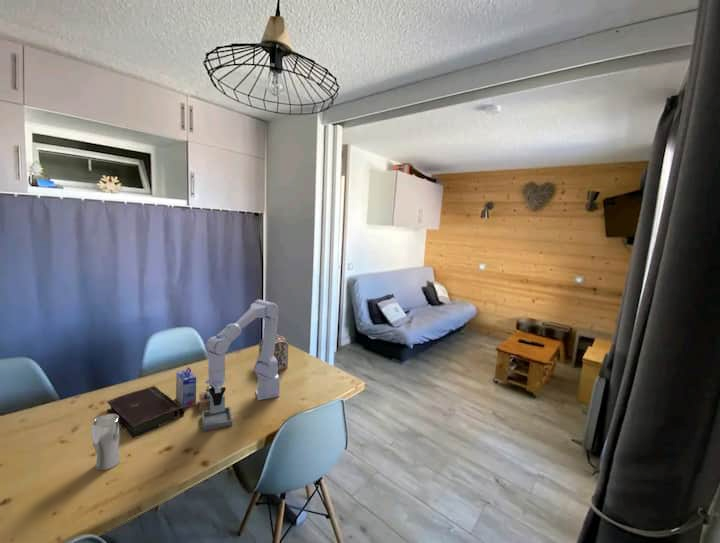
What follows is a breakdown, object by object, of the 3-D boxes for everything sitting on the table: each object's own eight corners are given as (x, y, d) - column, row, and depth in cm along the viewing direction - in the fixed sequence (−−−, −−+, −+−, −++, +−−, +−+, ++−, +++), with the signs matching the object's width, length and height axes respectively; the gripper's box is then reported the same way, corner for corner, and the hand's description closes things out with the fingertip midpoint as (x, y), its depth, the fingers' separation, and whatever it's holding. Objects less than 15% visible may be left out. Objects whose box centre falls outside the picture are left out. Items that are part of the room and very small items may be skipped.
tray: (229, 411, 132) (229, 406, 132) (232, 425, 123) (232, 420, 123) (202, 416, 128) (202, 411, 127) (202, 432, 119) (202, 427, 118)
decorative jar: (258, 365, 175) (258, 333, 172) (277, 360, 183) (278, 329, 180) (268, 373, 166) (269, 340, 163) (288, 367, 174) (289, 336, 171)
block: (224, 404, 128) (223, 390, 127) (225, 410, 124) (224, 396, 123) (210, 406, 126) (209, 392, 125) (210, 413, 122) (210, 399, 121)
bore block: (219, 397, 141) (219, 389, 141) (221, 407, 134) (221, 398, 134) (199, 401, 138) (199, 392, 137) (199, 411, 131) (199, 402, 130)
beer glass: (104, 455, 105) (101, 413, 102) (126, 455, 105) (124, 413, 103) (88, 472, 98) (85, 427, 95) (112, 471, 98) (109, 427, 96)
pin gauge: (213, 402, 138) (213, 384, 137) (213, 405, 135) (213, 388, 134) (206, 403, 137) (206, 385, 136) (206, 406, 134) (206, 389, 133)
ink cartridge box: (197, 404, 136) (196, 372, 134) (182, 408, 132) (182, 375, 130) (189, 394, 143) (189, 363, 140) (175, 398, 139) (174, 367, 137)
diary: (156, 395, 142) (156, 384, 141) (184, 417, 128) (184, 405, 127) (104, 412, 127) (104, 401, 126) (130, 440, 113) (130, 427, 112)
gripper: (204, 361, 127) (205, 393, 129) (205, 378, 114) (206, 413, 116) (224, 359, 130) (224, 390, 132) (227, 375, 117) (227, 409, 119)
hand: (216, 401), depth 124 cm, fingers closed on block, 5 cm apart
